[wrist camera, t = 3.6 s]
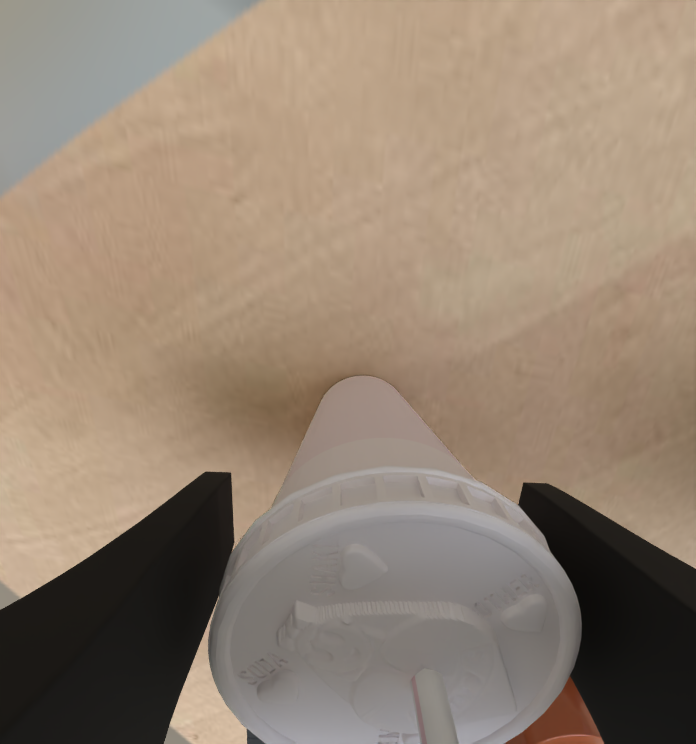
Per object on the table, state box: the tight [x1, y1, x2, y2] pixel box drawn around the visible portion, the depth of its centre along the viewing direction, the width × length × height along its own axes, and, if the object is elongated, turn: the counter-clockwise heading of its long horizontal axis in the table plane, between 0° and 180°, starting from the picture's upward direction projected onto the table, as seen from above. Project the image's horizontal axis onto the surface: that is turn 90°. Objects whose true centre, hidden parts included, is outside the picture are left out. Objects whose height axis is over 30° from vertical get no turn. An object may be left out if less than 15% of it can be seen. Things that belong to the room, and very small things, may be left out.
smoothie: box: [208, 375, 582, 744], centre depth 9 cm, size 6×6×14 cm
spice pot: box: [504, 676, 604, 744], centre depth 16 cm, size 4×4×6 cm
